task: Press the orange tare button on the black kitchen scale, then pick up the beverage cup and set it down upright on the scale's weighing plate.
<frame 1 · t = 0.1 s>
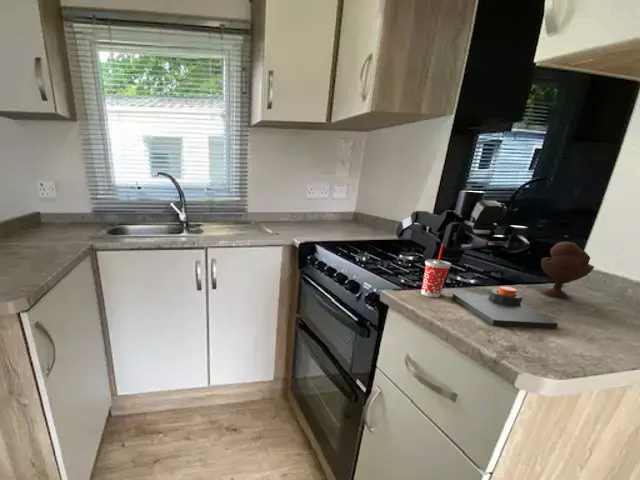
hand: (508, 244, 79), 17 cm above the worktop, tool horizontal, fingers open, 9 cm apart
beverage cup: (430, 294, 96), on the worktop
scale: (499, 311, 86), on the worktop
tare button: (507, 291, 90), point 3 cm above the worktop, slide at 0.1 cm
ice cream bowl: (554, 295, 101), on the worktop
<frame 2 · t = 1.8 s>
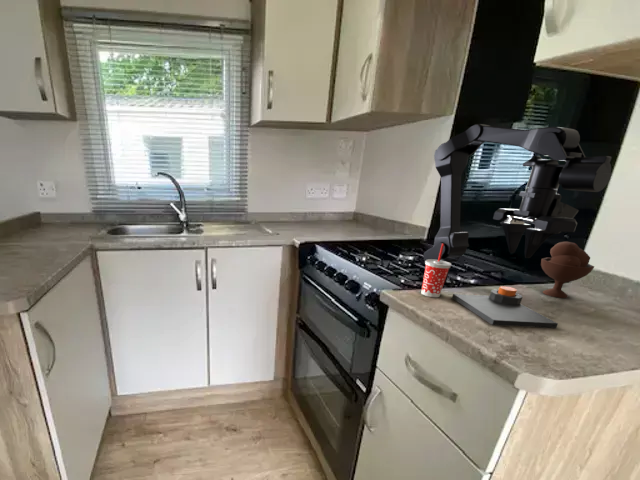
hand: (519, 255, 86), 13 cm above the worktop, tool pointing down, fingers open, 5 cm apart
nothing on the worktop moved.
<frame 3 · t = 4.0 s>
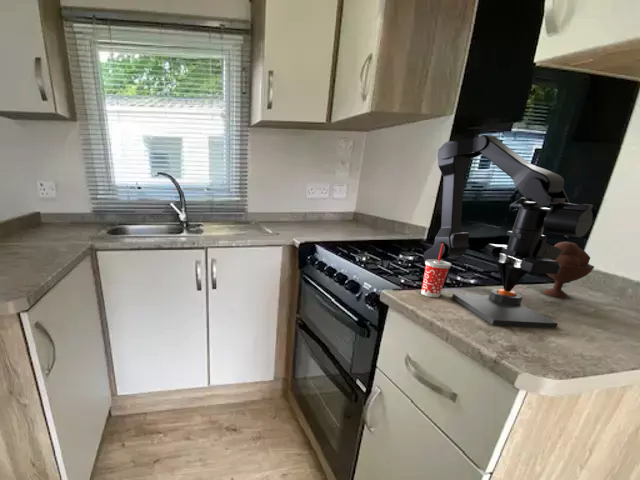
hand: (507, 290, 90), 4 cm above the worktop, tool pointing down, fingers closed, pressing on tare button
tare button: (506, 294, 90), point 3 cm above the worktop, slide at -0.5 cm, touching gripper
everything else where it was.
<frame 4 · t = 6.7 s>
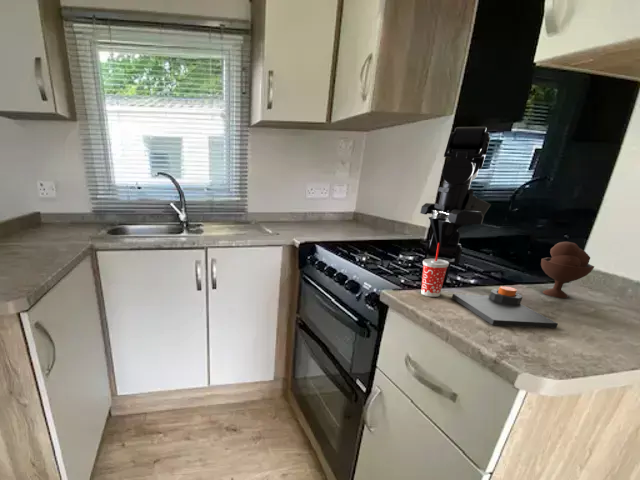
hand: (440, 246, 92), 13 cm above the worktop, tool pointing down, fingers closed
tare button: (507, 291, 90), point 3 cm above the worktop, slide at 0.1 cm
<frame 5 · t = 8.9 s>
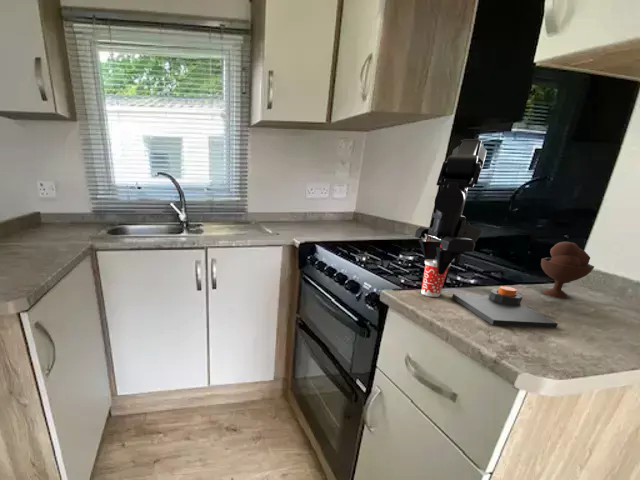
hand: (434, 270, 94), 7 cm above the worktop, tool pointing down, fingers closed on beverage cup, 6 cm apart
beverage cup: (430, 294, 96), on the worktop, touching gripper
everything else where it was.
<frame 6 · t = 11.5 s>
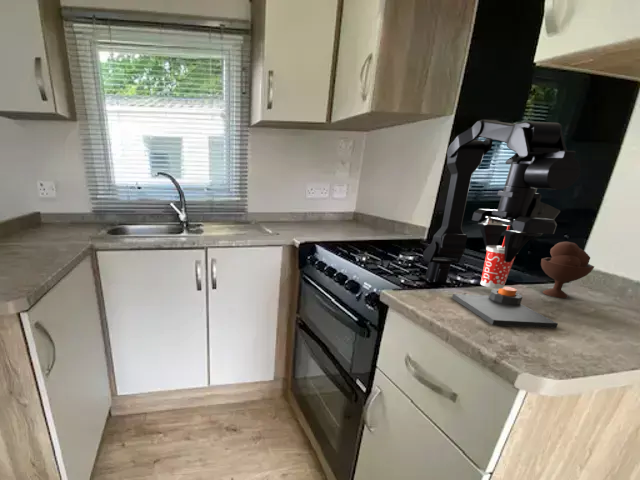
hand: (498, 258, 81), 13 cm above the worktop, tool pointing down, fingers closed on beverage cup, 6 cm apart
beverage cup: (491, 286, 83), point 6 cm above the worktop, touching gripper
everything else where it was.
when the fingers open (8 cm above the worktop, at t = 14.0 s): beverage cup stays where it is, resting on scale.
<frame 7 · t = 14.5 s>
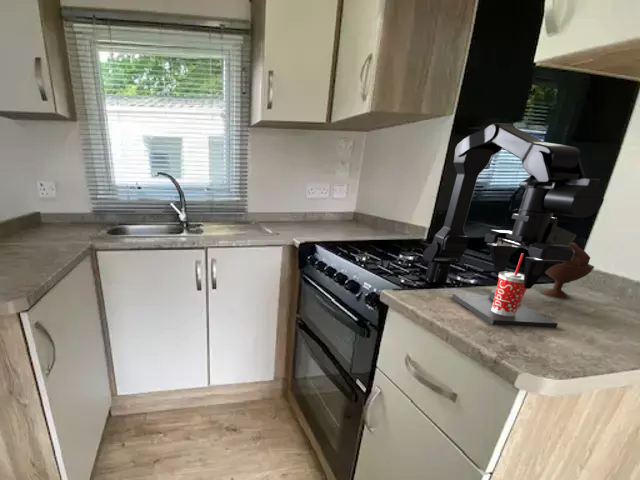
hand: (512, 281, 80), 9 cm above the worktop, tool pointing down, fingers open, 9 cm apart
beverage cup: (502, 313, 82), point 1 cm above the worktop, touching scale
everything else where it was.
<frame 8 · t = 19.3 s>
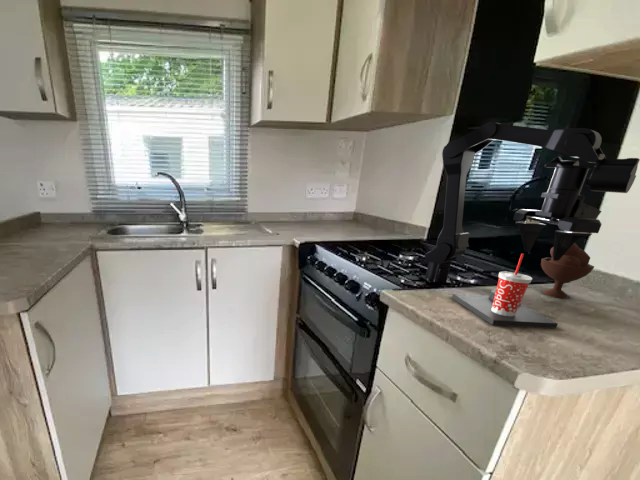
hand: (540, 255, 87), 13 cm above the worktop, tool pointing down, fingers open, 9 cm apart
nothing on the worktop moved.
at the end: tare button pushed in 0.9 cm at the most during the clip, back to where it started at the end; beverage cup inside the target area on the scale (3.9 cm from its centre), point 1.0 cm above the scale's base; beverage cup tilted 0° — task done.
